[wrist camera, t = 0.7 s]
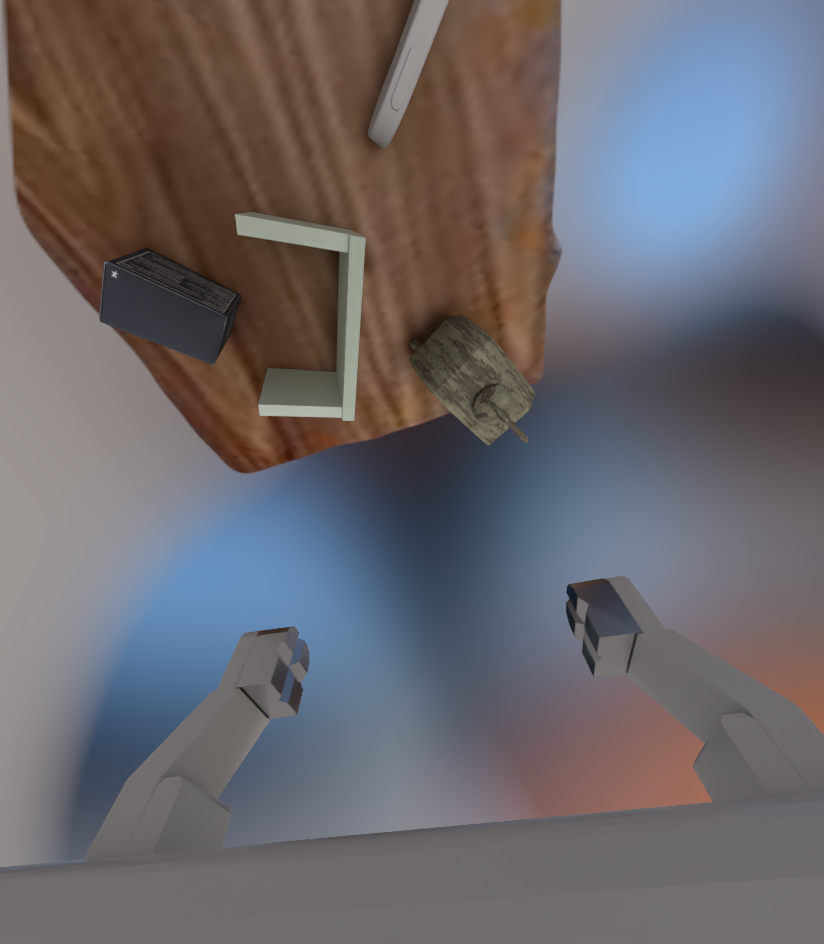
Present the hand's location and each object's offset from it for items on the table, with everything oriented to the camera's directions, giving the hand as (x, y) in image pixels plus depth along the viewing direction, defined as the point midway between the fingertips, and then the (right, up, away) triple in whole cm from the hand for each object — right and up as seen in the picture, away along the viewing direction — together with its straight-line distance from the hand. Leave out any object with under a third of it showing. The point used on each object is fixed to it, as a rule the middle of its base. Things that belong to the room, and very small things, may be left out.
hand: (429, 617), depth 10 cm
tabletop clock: (+5, +24, +45) cm, 51 cm away
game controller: (0, +49, +24) cm, 54 cm away
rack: (-15, +27, +36) cm, 47 cm away
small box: (-29, +27, +32) cm, 51 cm away
